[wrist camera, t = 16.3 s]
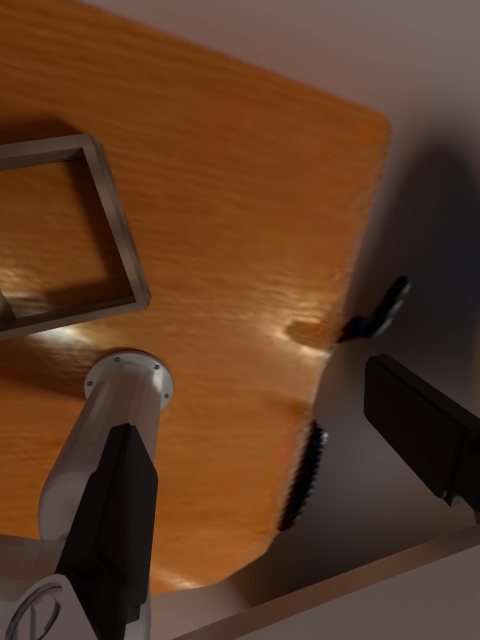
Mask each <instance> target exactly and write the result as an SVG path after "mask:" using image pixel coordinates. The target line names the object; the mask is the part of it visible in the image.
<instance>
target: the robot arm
mask: <svg viewBox="0 0 480 640" xmlns="http://www.w3.org/2000/svg"><path fill="white" fill-rule="evenodd" d="M118 357H119V358H118ZM84 392H85V396H86V399H87V401H86V403H85V405H84V407H83V409H82V411H81V413H80V415H79V417H78V419H77V421H76V423H75V425H74V427H73V429H72V431H71V432H70V434H69V436H68V438H67V440H66V442H65V444H64V446H63V448H62V450H61V452H60V454H59V456H58V458H57V460H56V462H55V464H54V465H53V467H52V469H51V471H50V473H49V475H48V477H47V479H46V481H45V483H44V486H43V489H42V492H41V496H40V500H39V508H38V526H39V534H40V540H38V539H32V538H25V537H18V536H11V535H4V534H0V640H150V630H151V592H150V576H149V572H150V561H151V551H152V540H153V530H154V519H155V508H156V498H157V487H158V476H157V472H156V470H155V468H154V461H155V452H156V443H157V435H158V426H159V418H160V412H161V411H162V410H163V409H164V408H165V407H166V406H167V404H168V403H169V401H170V399H171V397H172V393H173V379H172V376H171V373H170V371H169V369H168V368H167V367H166V365H165V364H164V363H163V362H162V361H160V360H159V359H158V358H156V357H154V356H152V355H150V354H147V353H144V352H141V351H133V350H129V351H119V352H114V353H111V354H109V355H106V356H105V357H103V358H101V359H100V360H98V361H97V362H96V363H95V364H94V365H93V366H92V368H91V369H90V371H89V372H88V374H87V376H86V379H85V382H84ZM364 392H365V394H364V414H365V417H366V418H367V420H368V421H369V422H370V423H371V424H372V425H373V427H374V428H375V429H376V430H377V431H378V432H379V433H380V434H381V435H382V436H383V438H384V439H385V440H386V441H387V442H388V443H389V444H390V446H391V447H392V448H393V449H394V450H395V451H396V452H397V453H398V454H399V455H400V457H401V458H402V459H403V460H404V461H405V462H406V463H407V465H408V466H409V467H410V468H411V469H412V470H413V471H414V472H415V474H416V475H417V476H418V477H419V478H420V479H421V480H422V481H423V482H424V483H425V485H426V486H427V487H428V488H429V489H430V490H431V491H432V493H433V494H434V495H436V496H437V497H438V498H442V499H443V500H444V501H445V502H446V503H447V504H448V505H449V506H450V507H453V506H455V505H458V504H461V503H464V502H465V501H466V502H467V503H468V504H469V505H470V506H471V507H472V508H473V512H474V517H475V521H476V525H474V526H471V527H468V528H465V529H462V530H460V531H457V532H454V533H451V534H449V535H446V536H444V537H441V538H438V539H435V540H432V541H430V542H427V543H424V544H422V545H419V546H416V547H413V548H411V549H408V550H405V551H403V552H400V553H397V554H395V555H392V556H389V557H386V558H384V559H381V560H378V561H376V562H373V563H370V564H368V565H365V566H362V567H360V568H357V569H354V570H352V571H349V572H346V573H344V574H341V575H338V576H336V577H333V578H330V579H328V580H325V581H322V582H320V583H317V584H314V585H312V586H309V587H307V588H304V589H301V590H298V591H296V592H293V593H290V594H288V595H285V596H283V597H280V598H278V599H275V600H272V601H269V602H267V603H264V604H262V605H259V606H256V607H254V608H251V609H249V610H246V611H244V612H241V613H238V614H235V615H233V616H230V617H228V618H225V619H222V620H220V621H217V622H215V623H212V624H209V625H207V626H204V627H202V628H199V629H197V630H194V631H192V632H190V633H187V634H185V635H182V636H180V637H177V638H175V639H173V640H480V419H479V418H478V417H476V416H475V415H473V414H472V413H470V412H469V411H468V410H466V409H464V408H463V407H461V406H460V405H459V404H458V403H456V402H455V401H453V400H452V399H450V398H449V397H447V396H446V395H444V394H443V393H442V392H440V391H439V390H437V389H436V388H434V387H433V386H432V385H430V384H429V383H427V382H426V381H424V380H423V379H421V378H420V377H418V376H417V375H415V374H414V373H413V372H411V371H410V370H408V369H407V368H406V367H404V366H403V365H401V364H400V363H398V362H397V361H395V360H394V359H393V358H391V357H390V356H388V355H386V354H380V355H376V356H372V357H370V358H369V360H368V362H366V368H365V391H364Z"/></svg>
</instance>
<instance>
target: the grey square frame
mask: <svg viewBox="0 0 480 640" xmlns="http://www.w3.org/2000/svg"><path fill="white" fill-rule="evenodd" d="M82 158H86V159H87V162H88V165H89V168H90V171H91V173H92V176H93V179H94V182H95V185H96V188H97V191H98V193H99V196H100V199H101V202H102V205H103V208H104V211H105V213H106V216H107V219H108V222H109V225H110V228H111V230H112V233H113V236H114V239H115V242H116V245H117V248H118V250H119V253H120V256H121V259H122V262H123V265H124V268H125V270H126V273H127V276H128V279H129V282H130V285H131V288H132V290H133V293H134V294H131V295H126V296H121V297H117V298H112V299H107V300H102V301H98V302H93V303H88V304H84V305H79V306H74V307H70V308H65V309H60V310H56V311H51V312H46V313H41V314H37V315H32V316H27V317H23V318H18V319H16V317H15V315H14V313H13V312H12V310H11V308H10V306H9V305H8V303H7V301H6V299H5V298H4V296H3V294H2V292H1V291H0V341H1V340H5V339H10V338H15V337H19V336H24V335H28V334H33V333H37V332H42V331H46V330H51V329H55V328H60V327H64V326H69V325H73V324H78V323H82V322H87V321H92V320H96V319H101V318H105V317H110V316H114V315H119V314H123V313H128V312H132V311H137V310H141V309H146V308H148V306H149V303H150V300H151V298H152V297H151V294H150V291H149V288H148V284H147V281H146V278H145V275H144V272H143V269H142V266H141V263H140V260H139V257H138V253H137V250H136V247H135V244H134V241H133V238H132V235H131V232H130V229H129V225H128V222H127V219H126V216H125V213H124V210H123V207H122V204H121V201H120V198H119V194H118V191H117V188H116V185H115V182H114V179H113V176H112V173H111V170H110V167H109V163H108V160H107V157H106V154H105V151H104V148H103V145H102V144H101V143H100V142H99V141H98V140H97V139H95V138H94V137H93V136H92V135H91V134H90V133H84V134H77V135H69V136H62V137H55V138H48V139H40V140H33V141H26V142H18V143H11V144H4V145H0V171H1V170H8V169H14V168H21V167H28V166H35V165H41V164H48V163H55V162H62V161H68V160H75V159H82Z"/></svg>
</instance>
